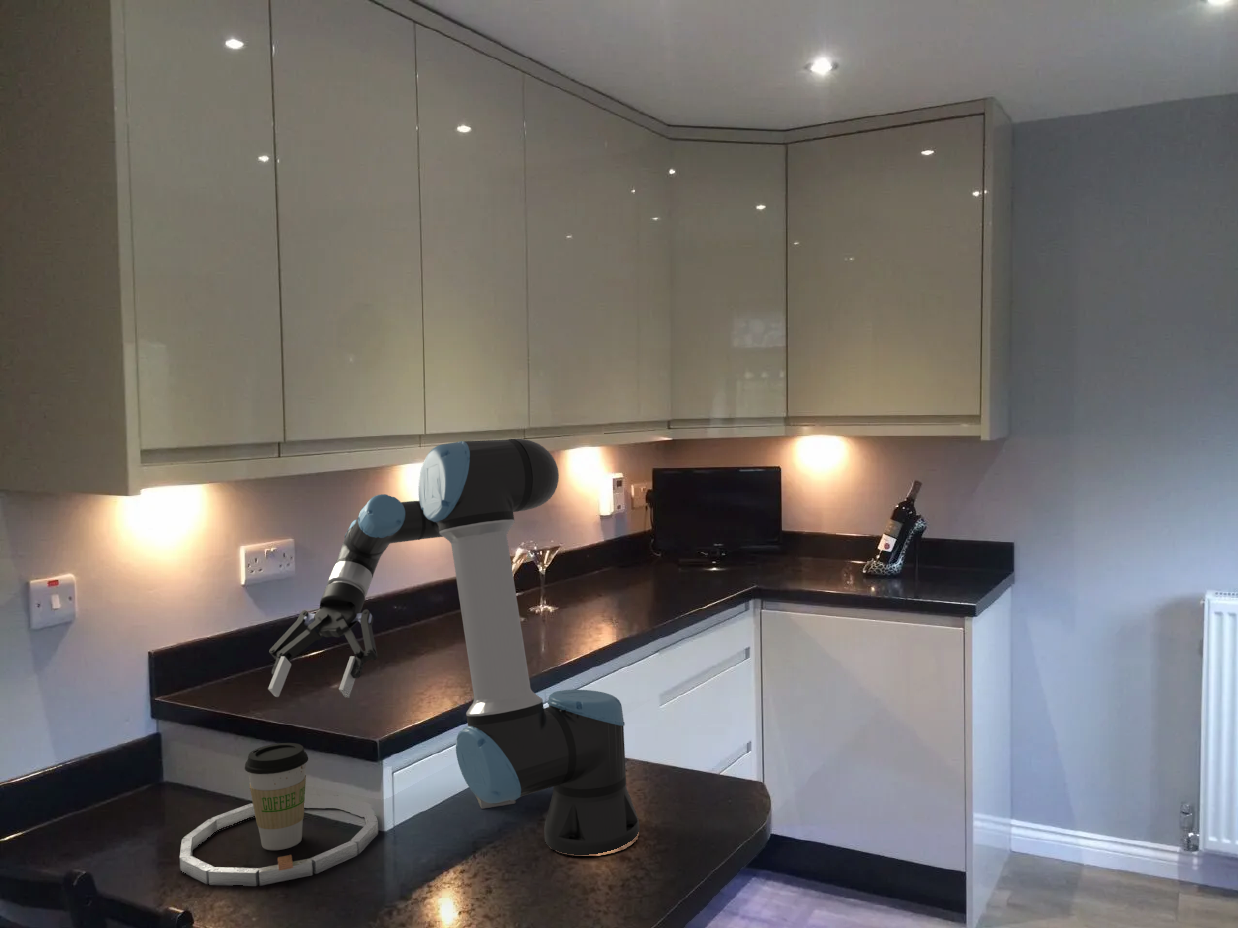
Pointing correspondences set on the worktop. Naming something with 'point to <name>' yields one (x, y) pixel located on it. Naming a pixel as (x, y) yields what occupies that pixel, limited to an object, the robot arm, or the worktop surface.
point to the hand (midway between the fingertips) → (308, 693)
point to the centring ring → (271, 873)
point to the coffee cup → (278, 793)
